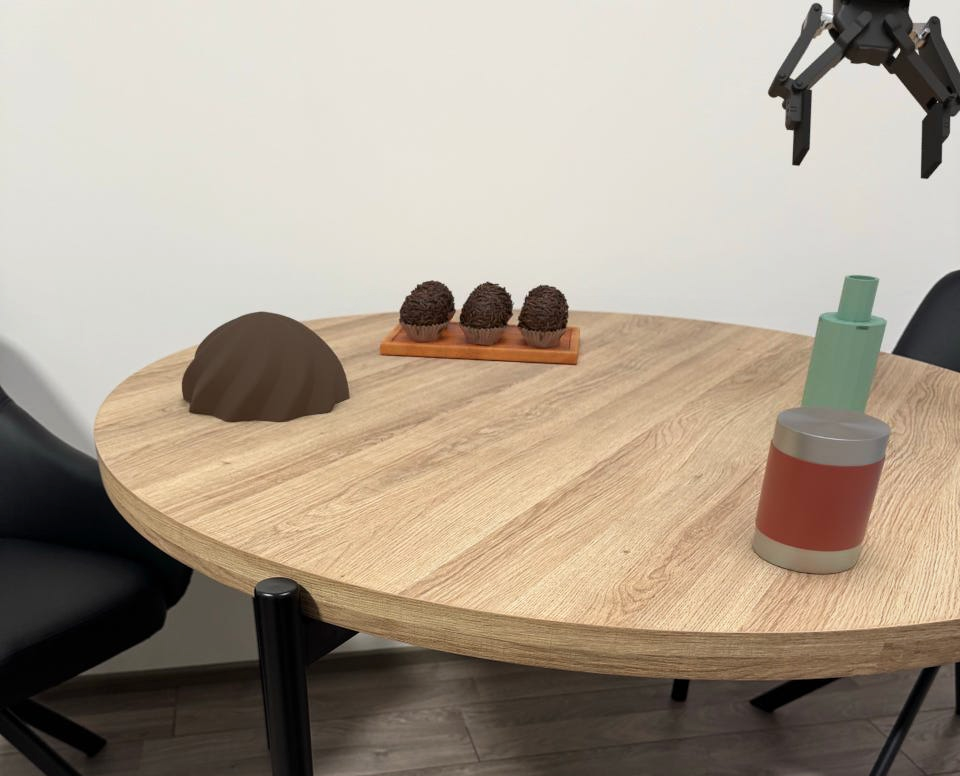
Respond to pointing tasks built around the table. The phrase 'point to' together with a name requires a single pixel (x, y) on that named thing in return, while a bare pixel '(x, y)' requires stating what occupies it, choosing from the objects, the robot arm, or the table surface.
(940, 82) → the robot arm
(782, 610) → the table surface
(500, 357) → the chocolate truffle
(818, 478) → the can
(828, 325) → the bottle
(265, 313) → the decorative dome
